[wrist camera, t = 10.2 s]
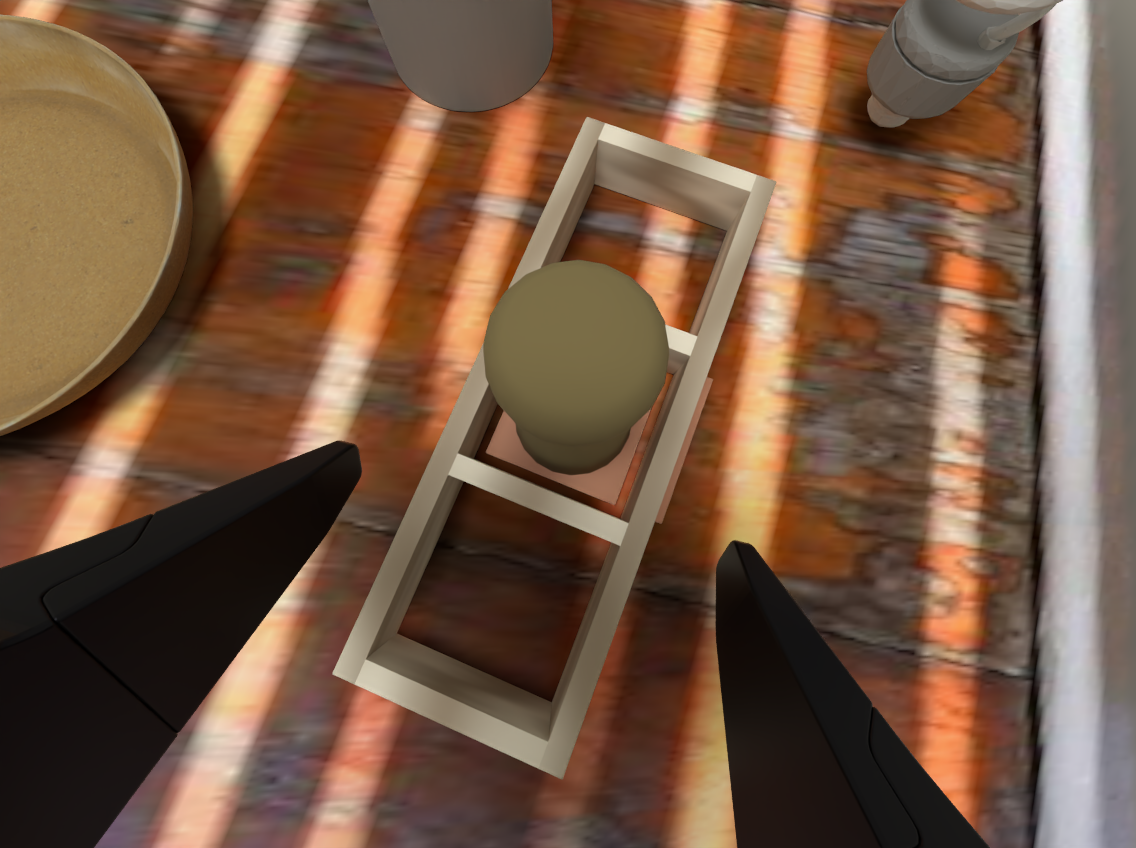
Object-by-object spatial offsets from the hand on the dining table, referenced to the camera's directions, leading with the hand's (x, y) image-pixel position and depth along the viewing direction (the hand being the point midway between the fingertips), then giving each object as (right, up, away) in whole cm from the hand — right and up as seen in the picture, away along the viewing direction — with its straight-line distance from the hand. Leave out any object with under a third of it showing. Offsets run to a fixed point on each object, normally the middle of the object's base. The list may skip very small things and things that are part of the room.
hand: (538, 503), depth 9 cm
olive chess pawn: (+1, +2, +11) cm, 12 cm away
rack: (+1, +2, +11) cm, 12 cm away
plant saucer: (-31, +12, +14) cm, 36 cm away
